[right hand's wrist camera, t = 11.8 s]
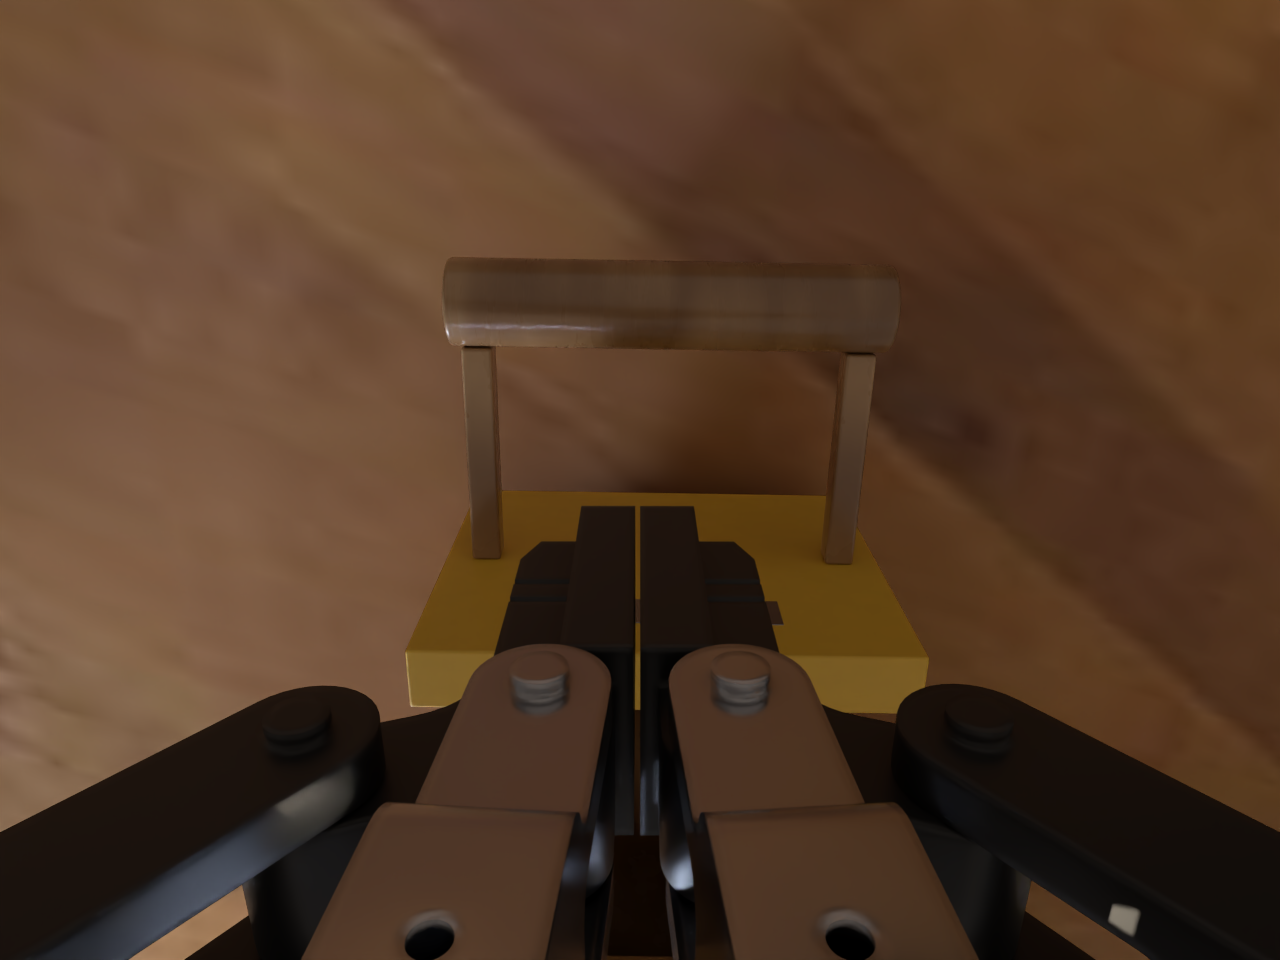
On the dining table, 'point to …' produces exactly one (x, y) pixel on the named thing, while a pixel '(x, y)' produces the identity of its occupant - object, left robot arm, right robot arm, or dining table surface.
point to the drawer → (760, 524)
